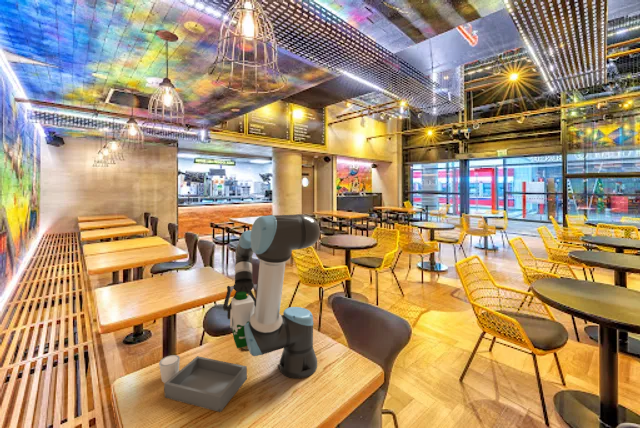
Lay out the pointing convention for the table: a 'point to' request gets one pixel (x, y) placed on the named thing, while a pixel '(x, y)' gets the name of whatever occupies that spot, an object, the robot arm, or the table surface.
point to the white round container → (169, 367)
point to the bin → (206, 383)
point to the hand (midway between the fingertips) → (243, 325)
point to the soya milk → (241, 316)
